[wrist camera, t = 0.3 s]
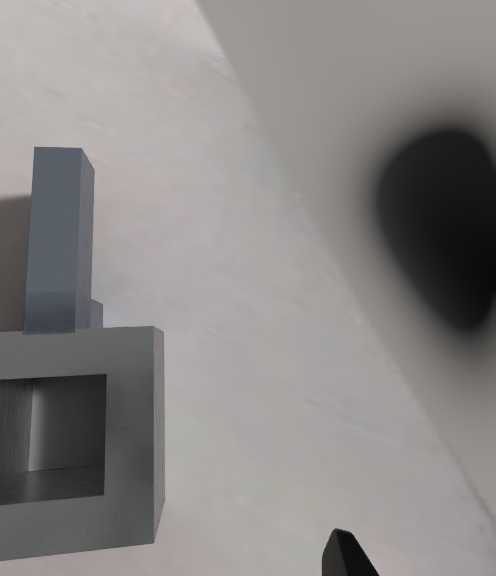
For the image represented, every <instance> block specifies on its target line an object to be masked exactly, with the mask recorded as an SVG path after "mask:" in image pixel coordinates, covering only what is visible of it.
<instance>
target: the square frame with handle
mask: <svg viewBox="0 0 496 576" xmlns="http://www.w3.org/2000/svg"><path fill="white" fill-rule="evenodd" d="M94 173H95V170H94V168H93V167H92V165H91V163H90V161H89V160H88V158H87V156H86V155H85V153H84V151H83V149H82V148H61V147H34V163H33V179H32V195H31V211H30V227H29V244H28V260H27V276H26V292H25V308H24V324H23V331H9V332H0V561H5V560H14V559H23V558H31V557H40V556H49V555H57V554H66V553H75V552H83V551H92V550H100V549H109V548H118V547H126V546H135V545H144V544H152V543H154V541H155V537H156V533H157V529H158V525H159V521H160V517H161V513H162V509H163V505H164V501H165V453H164V332H163V331H161V330H160V329H158V328H156V327H154V326H144V327H117V328H102V326H103V304H101V303H99V302H97V301H95V300H93V299H91V275H92V241H93V207H94ZM94 374H107V385H106V432H105V465H99V466H88V467H76V468H64V469H53V470H41V471H29V472H28V462H29V444H30V426H31V408H32V390H33V378H38V377H57V376H76V375H94Z"/></svg>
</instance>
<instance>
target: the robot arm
mask: <svg viewBox="0 0 496 576" xmlns="http://www.w3.org/2000/svg"><path fill="white" fill-rule="evenodd" d="M322 576H379V574H378V573H377V571H376V570H375V568H374V566H373V565H372V563H371V562H370V560H369V559H368V557H367V555H366V554H365V552H364V551H363V549H362V548H361V546H360V544H359V543H358V541H357V540H356V538H355V537H354V535H353V534H352V533H351V532H349V531H345V530H341V529H334V530H333V531H332V533H331V535H330V538H329V540H328V542H327V545H326V547H325V549H324V552H323V556H322Z"/></svg>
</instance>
